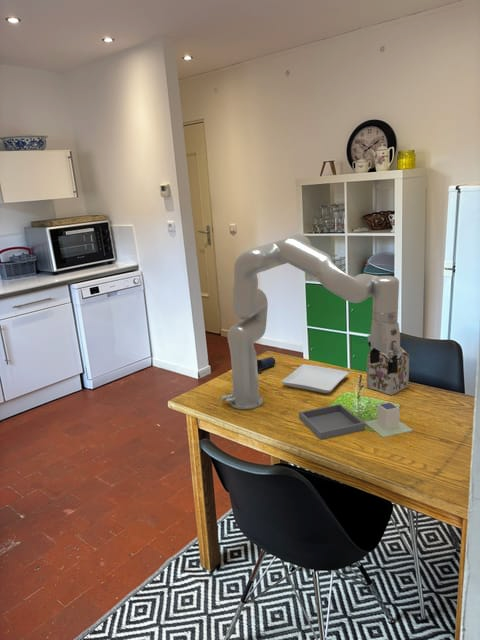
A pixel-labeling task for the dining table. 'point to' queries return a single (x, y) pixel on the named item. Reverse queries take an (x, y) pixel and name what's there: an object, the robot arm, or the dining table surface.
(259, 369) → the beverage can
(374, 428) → the mat
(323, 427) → the bin
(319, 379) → the salad plate
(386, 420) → the labelled box
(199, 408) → the dining table surface
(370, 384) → the decorative jar
